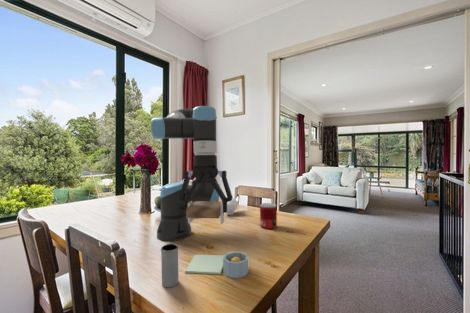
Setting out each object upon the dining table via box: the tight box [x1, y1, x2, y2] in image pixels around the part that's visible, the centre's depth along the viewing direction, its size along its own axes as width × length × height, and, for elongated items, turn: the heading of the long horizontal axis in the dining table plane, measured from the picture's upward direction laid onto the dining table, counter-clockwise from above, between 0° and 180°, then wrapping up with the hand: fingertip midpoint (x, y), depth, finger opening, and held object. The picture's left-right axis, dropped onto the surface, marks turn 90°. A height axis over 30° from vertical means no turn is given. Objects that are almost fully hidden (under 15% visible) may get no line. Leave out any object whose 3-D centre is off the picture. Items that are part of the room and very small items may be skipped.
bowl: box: [222, 251, 249, 279], centre depth 68 cm, size 8×8×4 cm
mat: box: [184, 254, 224, 275], centre depth 72 cm, size 11×11×1 cm
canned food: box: [259, 202, 278, 230], centre depth 108 cm, size 8×8×11 cm
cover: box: [186, 200, 222, 219], centre depth 72 cm, size 10×10×3 cm
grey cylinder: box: [160, 243, 180, 288], centre depth 62 cm, size 4×4×10 cm
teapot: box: [225, 195, 241, 215], centre depth 133 cm, size 10×20×9 cm, turn 144°
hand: (206, 222), depth 72 cm, fingers closed on cover, 10 cm apart
